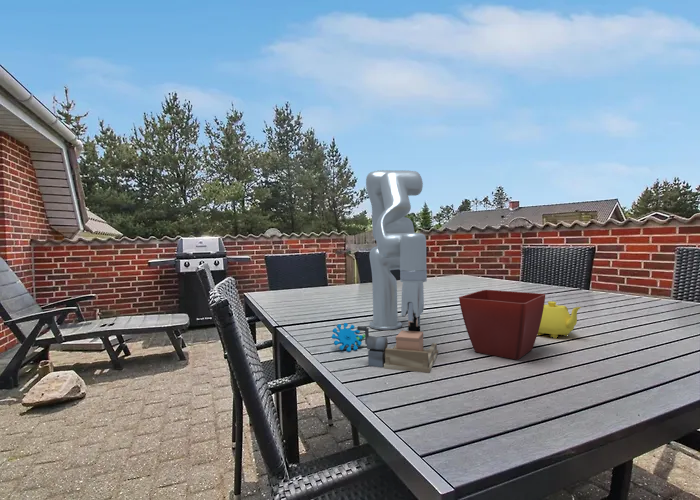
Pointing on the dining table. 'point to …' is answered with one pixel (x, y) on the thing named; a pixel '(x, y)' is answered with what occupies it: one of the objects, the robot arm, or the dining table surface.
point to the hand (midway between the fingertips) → (414, 339)
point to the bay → (397, 355)
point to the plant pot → (502, 321)
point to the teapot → (557, 320)
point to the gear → (347, 337)
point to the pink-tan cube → (410, 340)
